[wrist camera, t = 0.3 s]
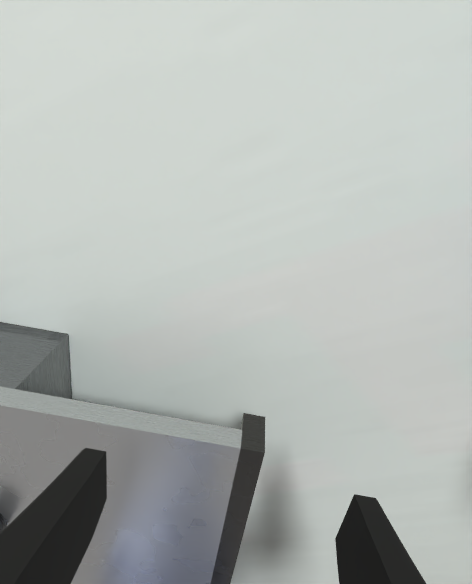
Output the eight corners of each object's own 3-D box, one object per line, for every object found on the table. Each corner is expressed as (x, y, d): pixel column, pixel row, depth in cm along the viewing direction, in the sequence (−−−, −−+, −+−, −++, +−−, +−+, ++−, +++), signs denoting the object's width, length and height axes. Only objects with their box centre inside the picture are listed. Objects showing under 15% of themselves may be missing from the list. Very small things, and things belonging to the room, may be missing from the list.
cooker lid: (219, 600, 23) (212, 668, 20) (-37, 553, 23) (-80, 614, 20) (265, 417, 16) (264, 478, 14) (-95, 352, 17) (-172, 400, 14)
